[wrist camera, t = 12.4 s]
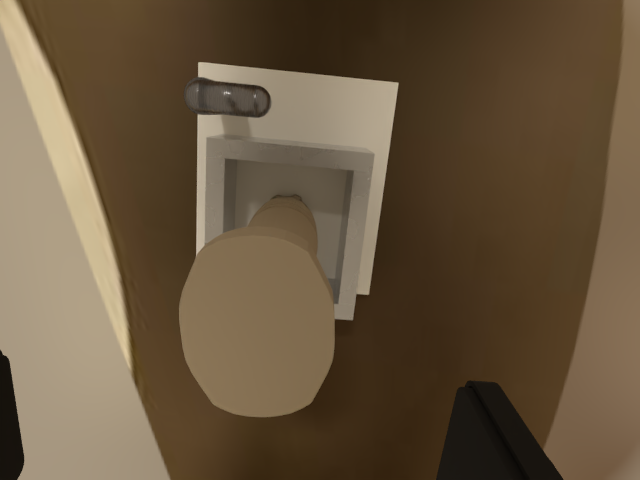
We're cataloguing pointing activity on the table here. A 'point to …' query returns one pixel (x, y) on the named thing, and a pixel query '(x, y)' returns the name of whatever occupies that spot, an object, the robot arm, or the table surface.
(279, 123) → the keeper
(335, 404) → the table surface
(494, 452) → the robot arm
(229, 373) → the handle
